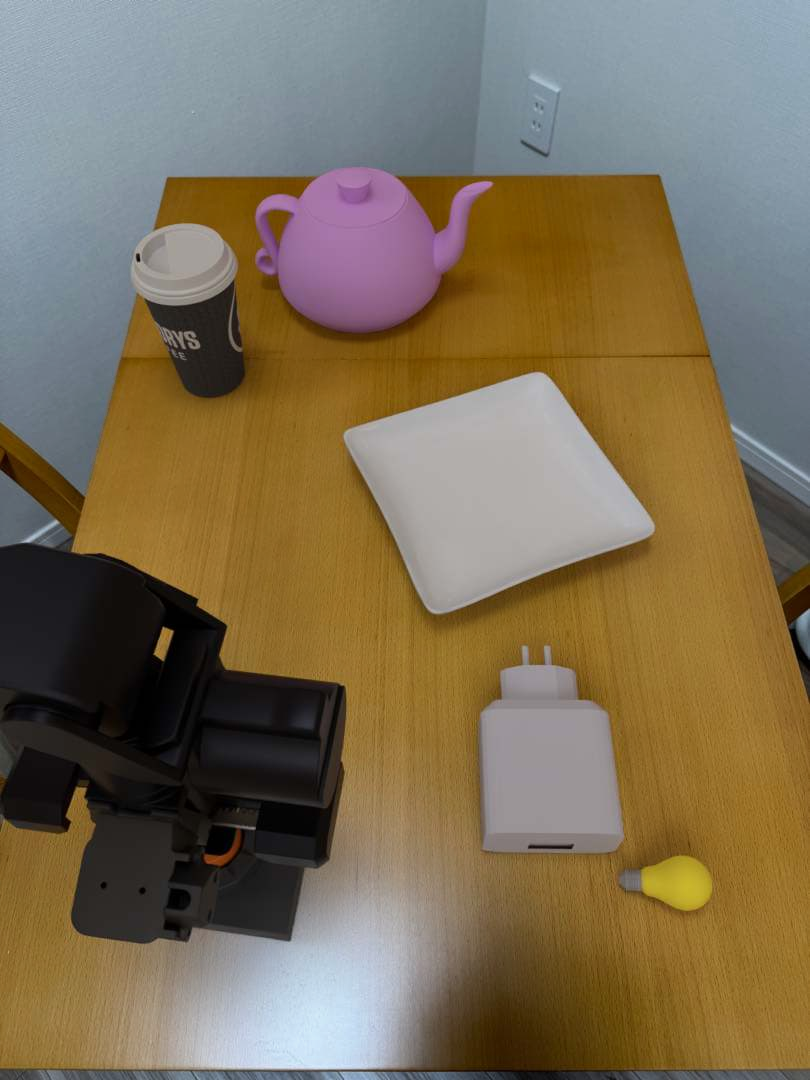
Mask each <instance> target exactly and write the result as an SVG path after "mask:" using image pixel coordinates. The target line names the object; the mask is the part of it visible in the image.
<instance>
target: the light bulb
mask: <svg viewBox="0 0 810 1080" xmlns="http://www.w3.org/2000/svg"><path fill="white" fill-rule="evenodd" d="M618 884H619V885H620V886H621V887H622V888H623V889H624V890H625V892H631V891H632V892H634V891H635V892H638V893H639V892H642V893H643V894H644V895H646V896H647V897H651V898H656V899H658V900H660V901H661V902H663V903H665V904H667V905H668V906H670V907H672V908H674V909H677V910H681V911H685V912H689V911H696V910H698V909H700V908H702V907H704V905H706V903H708V901H709V900H710V898H711V896H712V893H713V884H714V883H713V878H712V876H711V873H710V872H709V870H708V868H707V867H706V866H705V865H704V864H703V863H702V862H701V861H700V860H699V859H696V858H694V857H693V856H689V855H685V854H681V855H673V856H671V857H669V858H666V859H664V860H662V861H660V862H658V863H656V864H655V865H645V866H644V867H643V868H642V869H641V870H640V869H637V870H636V869H634V870H633V869H626V868H625V870H623V872H622V873H621V874H620V875H619V876H618Z"/></svg>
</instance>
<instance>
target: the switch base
mask: <svg viewBox="0 0 810 1080" xmlns="http://www.w3.org/2000/svg"><path fill="white" fill-rule="evenodd" d="M246 810H247V809H243V814H244V813H245V811H246ZM248 810H249V811H250V815H251V814H252V812H253V811H254V810H250V809H248ZM255 811H256V814H257V816H258V814H259V811H257V810H255ZM242 835H243V839H242V845H241V848H240V851H239V853H238V854H237V856H236V857H235V859H234V860H233V861H232V862H231V863H229V864H228V865H227V866H225V867H223V868H221V869H220V881H219V887H218V893H217V899H216V905H215V911H214V915H213V918H212V921H211V923H210V924H209V925H207V926H206V927H204V928H199V929H201V930H207V931H214V932H222V933H227V934H228V933H229V934H235V935H243V936H248V937H257V938H262V939H263V938H264V939H270V940H277V941H284V942H291V940H292V935H293V930H294V924H295V921H296V920H295V919H296V915H297V910H298V903H299V899H300V894H301V889H302V883H303V877H304V874H305V873H304V872H305V867H298V866H290V865H283V864H275V863H271V862H268V861H265V860H262V859H260V858H257V857H256V855H255V854H254V840H255V830H248V829H242ZM193 928H195V927H193ZM193 928H192V929H193ZM195 929H196V928H195Z"/></svg>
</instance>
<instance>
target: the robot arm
mask: <svg viewBox="0 0 810 1080" xmlns="http://www.w3.org/2000/svg"><path fill="white" fill-rule="evenodd" d="M198 602H199V598H197V597H196V596H193V595H192V594H189V593H188V592H186V591H184V590H182V589H179V587H175V586H173V585H172V584H169V583H167V582H166V581H163V580H161V579H159V578H158V577H155V576H153V575H151V574H149V573H147V572H146V571H143V570H141V569H139V568H138V567H136V566H135V565H133V564H131V563H129V562H127V561H125V560H123V559H121V558H117V557H114V556H111V555H108V554H106V553H103V552H97V553H95V552H93V553H91V552H90V553H89V552H88V553H86V552H85V553H80V552H74V551H70V550H66V549H62V548H61V549H60V548H56V547H52V546H47V545H44V544H43V545H42V544H38V543H33V542H27V541H25V542H18V543H12V544H8V545H3V546H0V732H1V733H2V735H4V736H6V737H7V738H8V739H9V740H12V742H13V741H14V742H15V743H17V744H20V745H19V747H18V750H17V752H16V755H15V758H14V760H13V762H12V765H11V767H10V770H9V773H8V775H7V778H6V780H5V782H4V785H3V787H2V790H1V792H0V812H1V814H2V817H3V819H4V820H5V821H6V822H8V823H9V824H10V825H11V826H13V827H14V828H16V829H19V830H27V831H33V832H41V833H49V834H56V835H61V834H65V833H68V832H69V830H70V826H71V824H72V821H71V820H70V818H68V817H67V814H68V812H69V809H70V806H71V803H72V801H73V798H74V795H75V793H76V789H77V788H80V789H81V788H82V789H85V793H84V796H83V798H84V799H85V800H86V801H87V802H86V805H85V808H86V809H87V810H88V811H89V819H90V821H92V823H94V824H95V825H94V828H93V831H92V833H91V838H90V839H89V840H88V841H87V843H86V844H85V845H84V848H83V852H82V855H81V862H80V866H79V871H78V876H77V881H76V885H75V889H74V895H73V901H72V906H71V911H70V921H71V924H72V926H73V929H74V930H75V931H76V932H77V933H78V934H80V935H83V936H85V937H86V936H87V937H92V938H99V939H106V940H112V941H119V942H120V941H121V942H126V943H132V944H140V945H147V944H151V943H153V942H155V941H156V940H158V939H160V940H167V941H168V940H169V941H174V942H181V943H189V941H190V939H191V935H192V932H193V927H195V929H200V928H204V927H206V926H207V925H209V924H210V923H211V921H212V918H213V915H214V911H215V905H216V899H217V893H218V887H219V881H220V867H219V866H218V865H214V864H208V863H206V861H205V859H204V856H205V854H208V855H215V856H223V855H225V854H227V853H228V852H229V851H230V850H231V848H232V846H233V845H234V842H235V839H236V835H237V831H238V828H240V829H248V830H255V840H254V854H255V855H256V857H257V858H260V859H262V860H265V861H268V862H271V863H275V864H283V865H290V866H298V867H305V868H306V869H314V870H319V869H320V868H321V867H322V866H324V865H326V863H328V862H329V861H330V858H331V854H332V853H331V852H332V847H333V841H334V836H335V831H336V825H337V820H338V819H337V818H338V814H339V813H338V812H339V808H340V801H341V797H342V796H341V795H342V791H343V784H344V780H345V774H346V772H345V767H344V763H343V761H342V756H343V748H344V744H345V743H344V742H345V734H346V723H347V688H346V685H342V684H341V683H340V682H335V681H325V680H319V679H318V680H317V679H309V678H302V677H301V678H300V677H294V676H293V677H292V676H285V675H284V676H283V675H276V674H267V673H259V672H252V671H243V670H237V669H236V670H235V669H228V668H226V667H225V666H224V664H223V660H222V659H221V656H220V654H221V650H222V647H223V643H224V640H225V638H226V634H227V631H228V625H227V623H226V622H224V621H222V620H221V619H219V618H217V617H216V616H214V615H213V614H211V613H209V612H208V611H207V610H204V609H203V608H201V606H198ZM164 628H165V629H167V630H170V631H172V633H171V634H172V635H171V637H170V641H169V644H168V645H167V646H168V647H167V649H166V652H165V655H164V658H163V659H161V658H160V657H159V656H158V655H156V654H155V652H156V650H157V647H158V643H159V640H160V637H161V635H162V633H163V632H162V631H163V629H164ZM243 809H247V810H246V811H245V813H244V814H243ZM248 809H250V810H254V811H253V812H252V814H251V815H250V811H249V810H248ZM255 810H257V811H259V814H258V816H257V814H256V811H255ZM305 868H304V869H305Z"/></svg>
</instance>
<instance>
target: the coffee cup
mask: <svg viewBox="0 0 810 1080" xmlns="http://www.w3.org/2000/svg"><path fill="white" fill-rule="evenodd" d="M238 262H239V261H238V257H237V256H236V254H235V252H234V250H233V249H232V247H231V246H230V245H229V244H228V242H227V241H225V240H224V239H223V238H222V236H221V235H220V234H219V233H218V232H217V231H215V229H213V228H211V227H208V226H206V225H203V224H198V223H189V222H188V223H186V222H185V223H176V224H175V223H174V224H169V225H167V226H162V227H160V228H158V229H155V230H154V231H152V232H150V233H148V234H147V235H145V236H144V237H143V238H142V239H141V240H139V242H138V244H137V245H136V247H135V249H134V252H133V259H132V261H131V266H130V283H131V285H132V287H133V289H134V291H135V292H136V293H137V294H138V295H139V296H141V297H142V298H143V299H144V301H145V304H146V306H147V309H148V311H149V313H150V315H151V317H152V319H153V321H154V323H155V326H156V329H157V330H158V333H159V335H160V336H161V339H162V341H163V344H164V346H165V348H166V351H167V353H168V355H169V357H170V359H171V362H172V364H173V366H174V369H175V370H176V373H177V375H178V377H179V380H180V382H181V385H182V387H184V389H185V390H186V391H187V392H188V393H190V394H191V395H194V396H196V397H200V398H209V399H211V398H219V397H222V396H225V395H227V394H230V393H232V392H234V391H235V390H236V389H238V387H240V385H241V384H242V383H243V381H244V379H245V375H246V368H245V359H244V350H243V341H242V333H241V325H240V316H239V307H238V300H237V289H236V281H235V278H236V275H237V273H238V270H239V263H238Z"/></svg>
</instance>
